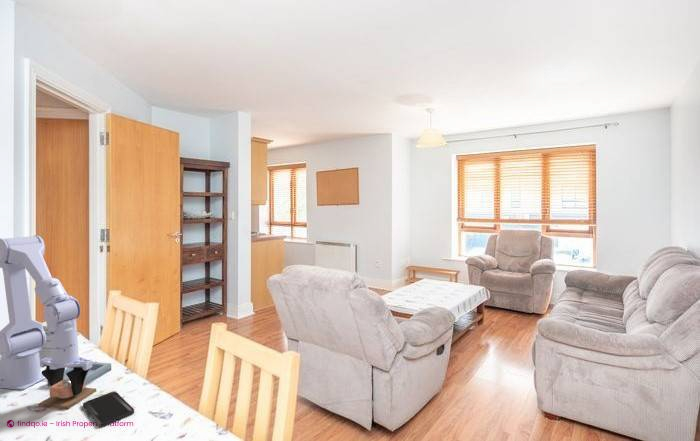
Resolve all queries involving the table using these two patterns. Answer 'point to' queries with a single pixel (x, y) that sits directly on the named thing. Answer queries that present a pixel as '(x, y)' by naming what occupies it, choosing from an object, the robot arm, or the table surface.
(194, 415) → the table surface
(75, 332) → the robot arm
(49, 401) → the base
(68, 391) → the ring
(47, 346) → the supplement box
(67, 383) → the grey stepped cylinder
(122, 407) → the phone
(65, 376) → the tray
